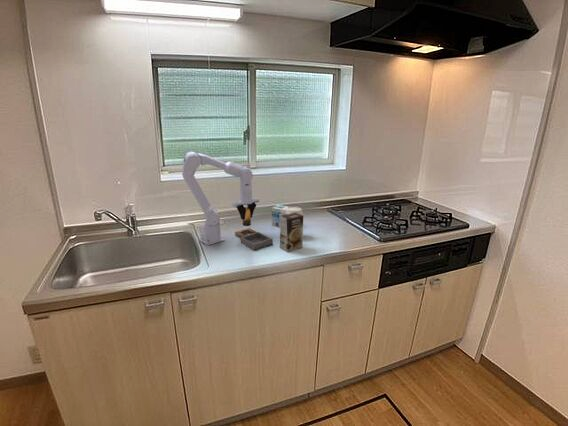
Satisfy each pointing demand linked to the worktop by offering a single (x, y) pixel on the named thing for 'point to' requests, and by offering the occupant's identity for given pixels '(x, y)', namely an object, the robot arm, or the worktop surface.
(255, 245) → the tray
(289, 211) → the supplement can
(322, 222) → the worktop surface
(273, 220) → the light bulb box
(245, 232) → the brown square shallow dish
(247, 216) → the cell
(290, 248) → the coffee box
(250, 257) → the worktop surface
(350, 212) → the worktop surface
